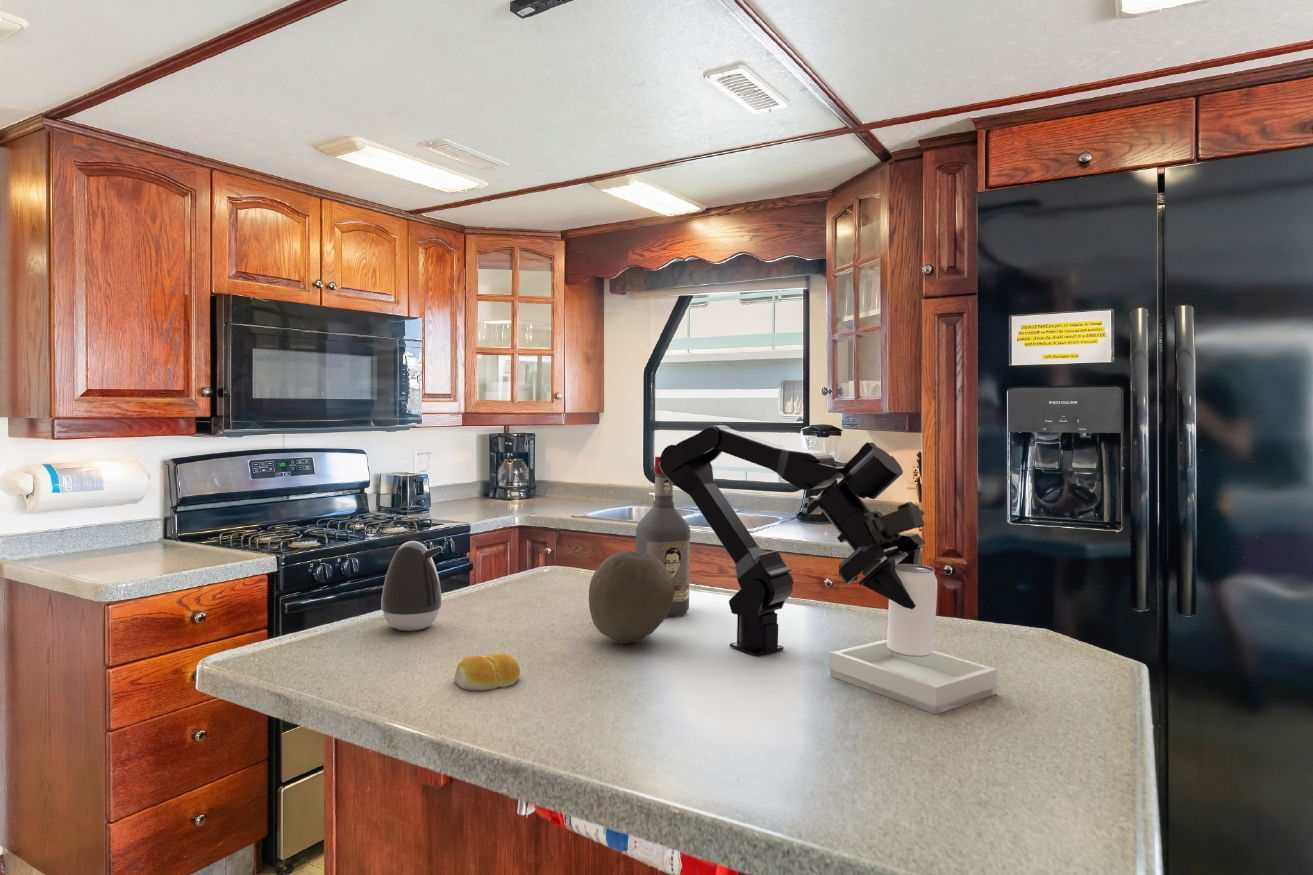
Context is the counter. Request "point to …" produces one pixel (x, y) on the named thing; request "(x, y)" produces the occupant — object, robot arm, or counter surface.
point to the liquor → (667, 540)
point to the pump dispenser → (412, 588)
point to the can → (914, 613)
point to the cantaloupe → (630, 596)
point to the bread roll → (487, 672)
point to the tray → (915, 676)
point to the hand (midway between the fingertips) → (921, 604)
